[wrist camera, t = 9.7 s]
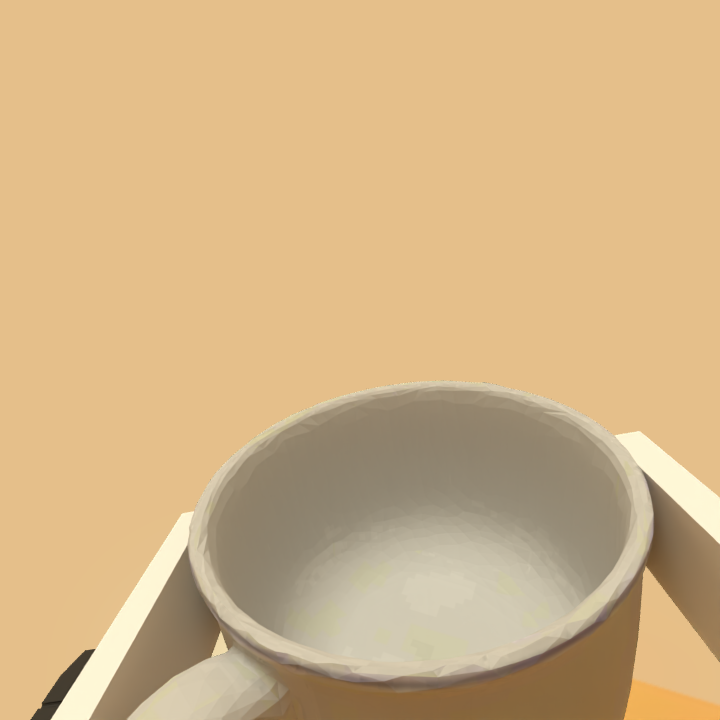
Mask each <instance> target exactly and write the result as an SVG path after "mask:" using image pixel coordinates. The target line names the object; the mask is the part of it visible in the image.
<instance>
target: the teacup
mask: <svg viewBox="0 0 720 720" xmlns="http://www.w3.org/2000/svg"><path fill="white" fill-rule="evenodd" d="M654 527H655V526H654V512H653V506H652V500H651V496H650V492H649V488H648V485H647V481H646V479H645V477H644V474H643V472H642V470H641V469H640V467H639V466H638V465H637V463H636V462H635V460H634V459H633V457H632V456H631V454H630V453H629V451H628V450H627V449H626V448H625V447H624V446H623V445H622V444H621V443H620V442H619V440H618V439H617V438H616V437H615V436H614V435H612V434H611V433H610V432H609V431H608V430H606V429H605V428H604V427H602V426H601V425H599V424H598V423H597V422H595V421H594V420H592V419H590V418H589V417H587V416H586V415H584V414H581V413H580V412H578V411H576V410H574V409H572V408H570V407H568V406H565V405H563V404H560V403H558V402H556V401H554V400H551V399H548V398H545V397H541V396H538V395H534V394H531V393H528V392H525V391H520V390H515V389H509V388H506V387H502V386H499V385H495V384H490V383H485V382H483V383H472V382H457V381H428V382H413V383H404V384H398V385H388V386H383V387H378V388H373V389H369V390H364V391H360V392H356V393H352V394H348V395H344V396H340V397H337V398H334V399H331V400H328V401H325V402H322V403H319V404H317V405H315V406H313V407H311V408H309V409H305V410H303V411H301V412H298V413H296V414H293V415H291V416H289V417H288V418H287V419H285V420H282V421H280V422H278V423H276V424H275V425H273V426H271V427H270V428H269V429H267V430H265V431H264V432H262V433H261V434H259V435H258V436H256V437H255V438H253V439H252V440H251V441H250V442H249V443H248V444H247V445H245V446H244V447H243V448H241V449H240V450H239V451H237V452H236V453H235V454H234V455H233V456H231V457H230V458H229V460H228V461H227V462H226V463H225V464H224V465H223V466H222V467H221V468H220V469H219V470H218V471H217V472H216V473H215V475H214V476H213V478H212V479H211V480H210V482H209V483H208V485H207V487H206V489H205V490H204V492H203V494H202V496H201V498H200V499H199V501H198V503H197V505H196V508H195V511H194V514H193V517H192V520H191V523H190V526H189V538H188V544H187V546H188V557H189V563H190V567H191V571H192V575H193V578H194V580H195V583H196V586H197V588H198V590H199V592H200V594H201V596H202V597H203V599H204V601H205V602H206V604H207V606H208V607H209V609H210V610H211V612H212V614H213V615H214V617H215V618H216V619H217V621H218V623H219V626H220V629H221V632H222V634H223V637H224V640H225V643H226V645H227V648H228V651H227V652H226V653H224V654H220V655H217V656H214V657H211V658H208V659H206V660H204V661H202V662H200V663H198V664H196V665H194V666H193V667H191V668H189V669H187V670H185V671H183V672H182V673H180V674H178V675H176V676H174V677H173V678H171V679H170V680H169V681H168V682H167V683H165V684H164V685H163V686H162V687H161V688H159V689H158V690H157V691H156V692H155V693H153V694H152V695H151V696H150V697H149V698H147V699H146V700H145V701H144V702H143V703H141V705H140V706H139V707H138V708H137V709H136V710H135V711H134V712H133V713H132V714H131V715H130V716H129V718H128V719H127V720H623V719H624V716H625V712H626V707H627V703H628V698H629V694H630V690H631V683H632V676H633V668H634V662H635V655H636V648H637V641H638V631H639V621H640V608H641V594H642V579H643V572H644V570H645V566H646V563H647V560H648V557H649V553H650V550H651V547H652V540H653V534H654Z"/></svg>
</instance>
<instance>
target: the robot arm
mask: <svg viewBox="0 0 720 720" xmlns="http://www.w3.org/2000/svg"><path fill="white" fill-rule="evenodd" d="M615 437H616V438H617V439H618V440H619V442H620V443H621V444H622V445H623V446H624V447H625V448H626V449H627V450H628V451H629V453H630V454H631V456H632V457H633V459H634V460H635V462H636V463H637V465H638V466H639V467H640V469H641V470H642V472H643V474H644V477H645V479H646V481H647V485H648V488H649V492H650V496H651V500H652V506H653V512H654V526H655V527H654V534H653V540H652V547H651V550H650V553H649V557H648V560H647V563H646V566H647V568H648V569H649V570H650V572H651V573H652V574H653V576H654V577H655V578H656V580H657V581H658V582H659V583H660V585H661V586H662V587H663V589H664V590H665V591H666V592H667V594H668V595H669V597H670V598H671V599H672V600H673V602H674V603H675V604H676V606H677V607H678V608H679V610H680V611H681V612H682V613H683V615H684V616H685V618H686V619H687V620H688V621H689V623H690V624H691V625H692V627H693V628H694V629H695V631H696V632H697V633H698V634H699V636H700V637H701V638H702V640H703V641H704V642H705V643H706V645H707V646H708V647H709V649H710V650H711V651H712V653H713V654H714V655H715V657H716V658H717V659H718V661H719V662H720V498H719V497H718V496H717V495H716V494H714V493H713V492H712V491H711V490H710V489H709V488H707V487H706V486H705V485H704V484H703V483H701V482H700V481H699V480H698V479H696V478H695V477H694V476H693V475H691V474H690V473H689V472H688V471H687V470H686V469H684V468H683V467H682V466H681V465H680V464H678V463H677V462H676V461H675V460H674V459H672V458H671V457H670V456H669V455H668V454H666V453H665V452H664V451H663V450H662V449H660V448H659V447H658V446H657V445H655V444H654V443H653V442H652V441H651V440H649V439H648V438H647V437H646V436H645V435H644V434H642V433H641V432H640V431H637V432H631V433H626V434H621V435H615ZM193 514H194V512H188V513H183V514H182V515H181V516H180V518H179V519H178V521H177V523H176V524H175V526H174V527H173V529H172V530H171V532H170V534H169V535H168V537H167V538H166V540H165V541H164V543H163V545H162V546H161V548H160V549H159V551H158V552H157V554H156V556H155V558H154V559H153V560H152V562H151V563H150V565H149V566H148V568H147V570H146V571H145V573H144V575H143V576H142V577H141V579H140V581H139V582H138V584H137V585H136V587H135V588H134V590H133V592H132V593H131V595H130V596H129V598H128V599H127V601H126V603H125V604H124V606H123V607H122V609H121V610H120V612H119V614H118V615H117V617H116V618H115V620H114V621H113V623H112V625H111V626H110V628H109V629H108V631H107V632H106V634H105V636H104V637H103V639H102V640H101V642H100V643H99V645H98V646H97V648H96V649H92V650H85V651H84V652H83V653H82V654H81V655H80V656H79V657H78V658H77V659H76V660H75V661H74V662H73V663H72V665H70V666H69V668H68V669H67V670H66V671H65V672H64V673H63V674H62V675H61V676H60V677H59V679H58V680H57V682H56V683H55V685H54V686H53V688H52V689H51V691H50V692H49V693H48V695H47V697H46V698H45V699H44V701H43V702H42V707H41V709H38V710H37V711H36V713H35V714H34V716H33V717H32V719H31V720H127V719H128V718H129V716H130V715H131V714H132V713H133V712H134V711H135V710H136V709H137V708H138V707H139V706H140V705H141V703H143V702H144V701H145V700H146V699H147V698H149V697H150V696H151V695H152V694H153V693H155V692H156V691H157V690H158V689H159V688H161V687H162V686H163V685H164V684H165V683H167V682H168V681H169V680H170V679H171V678H173V677H174V676H176V675H178V674H180V673H182V672H183V671H185V670H187V669H189V668H191V667H193V666H194V665H196V664H198V663H200V662H202V661H204V660H206V659H208V658H211V656H212V653H213V650H214V647H215V645H216V642H217V639H218V636H219V633H220V631H221V629H220V626H219V623H218V621H217V619H216V618H215V617H214V615H213V614H212V612H211V610H210V609H209V607H208V606H207V604H206V602H205V601H204V599H203V597H202V596H201V594H200V592H199V590H198V588H197V586H196V583H195V580H194V578H193V575H192V571H191V567H190V563H189V557H188V546H187V544H188V538H189V526H190V523H191V520H192V517H193Z"/></svg>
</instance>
